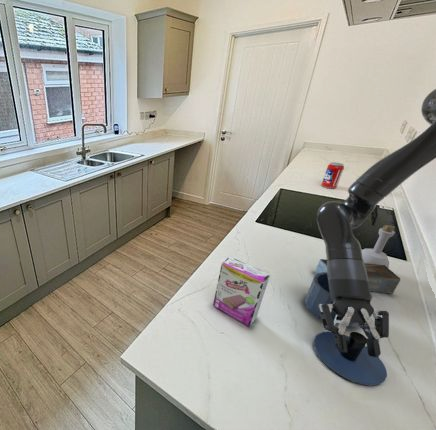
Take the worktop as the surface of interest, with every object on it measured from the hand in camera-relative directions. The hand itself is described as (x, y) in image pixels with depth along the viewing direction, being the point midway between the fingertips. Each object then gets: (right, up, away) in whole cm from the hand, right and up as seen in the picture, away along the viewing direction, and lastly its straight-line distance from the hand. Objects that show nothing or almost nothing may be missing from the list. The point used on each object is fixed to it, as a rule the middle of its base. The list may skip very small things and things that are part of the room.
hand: (358, 354), depth 60 cm
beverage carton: (+23, +9, +27) cm, 36 cm away
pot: (+8, +4, +17) cm, 19 cm away
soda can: (+79, +49, +104) cm, 140 cm away
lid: (0, -2, +3) cm, 4 cm away
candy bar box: (-21, +3, +17) cm, 27 cm away
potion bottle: (+34, +12, +33) cm, 49 cm away
